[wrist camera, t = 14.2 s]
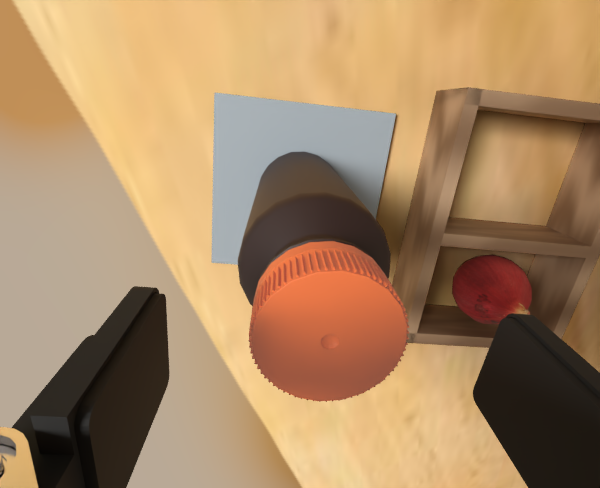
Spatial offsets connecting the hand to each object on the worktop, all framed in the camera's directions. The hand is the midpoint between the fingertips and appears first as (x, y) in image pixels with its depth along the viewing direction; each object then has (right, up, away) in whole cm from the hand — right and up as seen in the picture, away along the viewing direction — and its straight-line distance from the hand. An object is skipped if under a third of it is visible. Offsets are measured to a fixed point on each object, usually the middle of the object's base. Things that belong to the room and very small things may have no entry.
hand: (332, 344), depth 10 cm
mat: (-1, +7, +20) cm, 21 cm away
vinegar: (-1, +7, +20) cm, 21 cm away
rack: (+16, +5, +22) cm, 27 cm away
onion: (+15, 0, +24) cm, 28 cm away
